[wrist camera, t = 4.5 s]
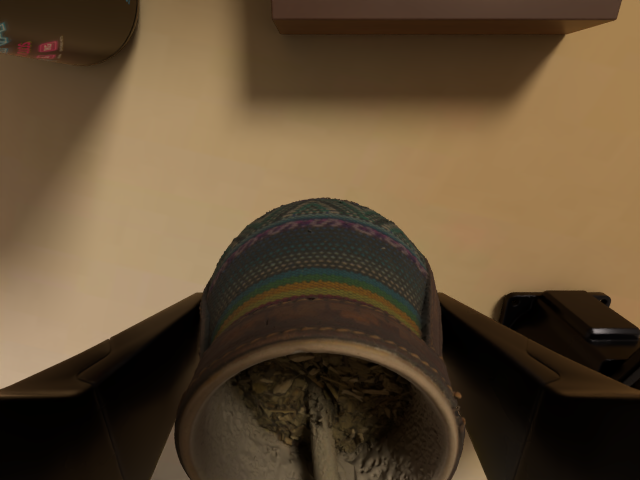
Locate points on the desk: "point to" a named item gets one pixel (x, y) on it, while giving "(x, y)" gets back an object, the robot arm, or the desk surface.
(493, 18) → the step shelf
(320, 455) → the mate gourd
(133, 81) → the desk surface
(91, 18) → the supplement container
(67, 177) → the desk surface
